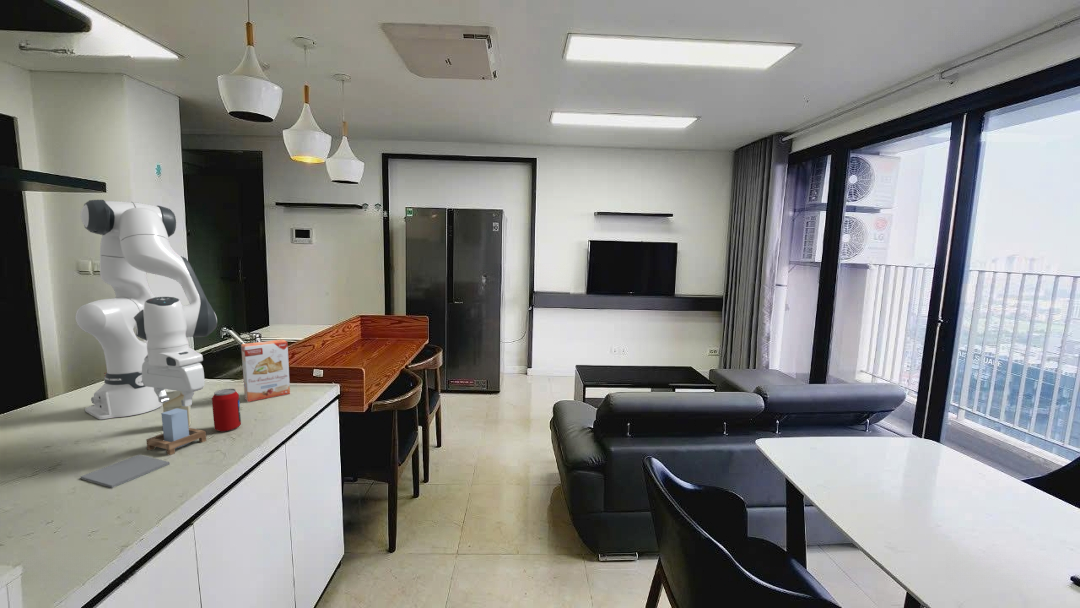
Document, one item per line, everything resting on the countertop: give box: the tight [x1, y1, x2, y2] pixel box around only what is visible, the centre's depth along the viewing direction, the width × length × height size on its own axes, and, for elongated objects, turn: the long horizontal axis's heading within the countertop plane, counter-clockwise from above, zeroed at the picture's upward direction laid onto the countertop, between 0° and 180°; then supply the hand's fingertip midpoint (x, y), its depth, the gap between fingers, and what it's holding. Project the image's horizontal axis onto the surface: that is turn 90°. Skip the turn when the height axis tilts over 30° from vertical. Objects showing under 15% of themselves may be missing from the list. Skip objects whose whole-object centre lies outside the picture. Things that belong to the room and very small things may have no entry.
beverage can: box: [211, 388, 242, 433], centre depth 134 cm, size 7×7×12 cm
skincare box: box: [162, 389, 192, 428], centre depth 136 cm, size 6×4×12 cm
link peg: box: [160, 408, 191, 450], centre depth 123 cm, size 4×4×10 cm
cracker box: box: [240, 339, 291, 403], centre depth 163 cm, size 14×6×21 cm, turn 134°
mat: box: [80, 454, 170, 489], centre depth 109 cm, size 12×12×1 cm
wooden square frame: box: [145, 427, 207, 456], centre depth 123 cm, size 9×9×3 cm
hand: (175, 403), depth 122 cm, fingers open, 8 cm apart
